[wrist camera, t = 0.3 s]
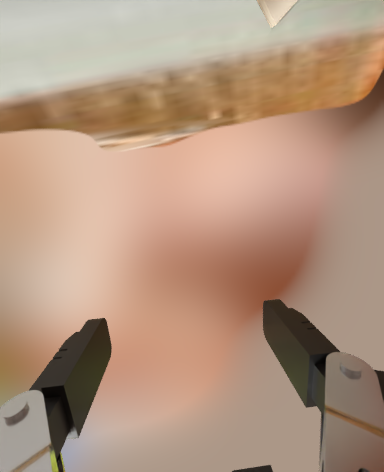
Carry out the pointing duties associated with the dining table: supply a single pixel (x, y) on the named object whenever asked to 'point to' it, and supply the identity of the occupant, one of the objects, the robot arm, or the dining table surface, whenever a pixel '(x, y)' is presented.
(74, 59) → the dining table surface
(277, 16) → the hole board
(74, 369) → the robot arm
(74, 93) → the dining table surface
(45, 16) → the dining table surface
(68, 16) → the dining table surface
